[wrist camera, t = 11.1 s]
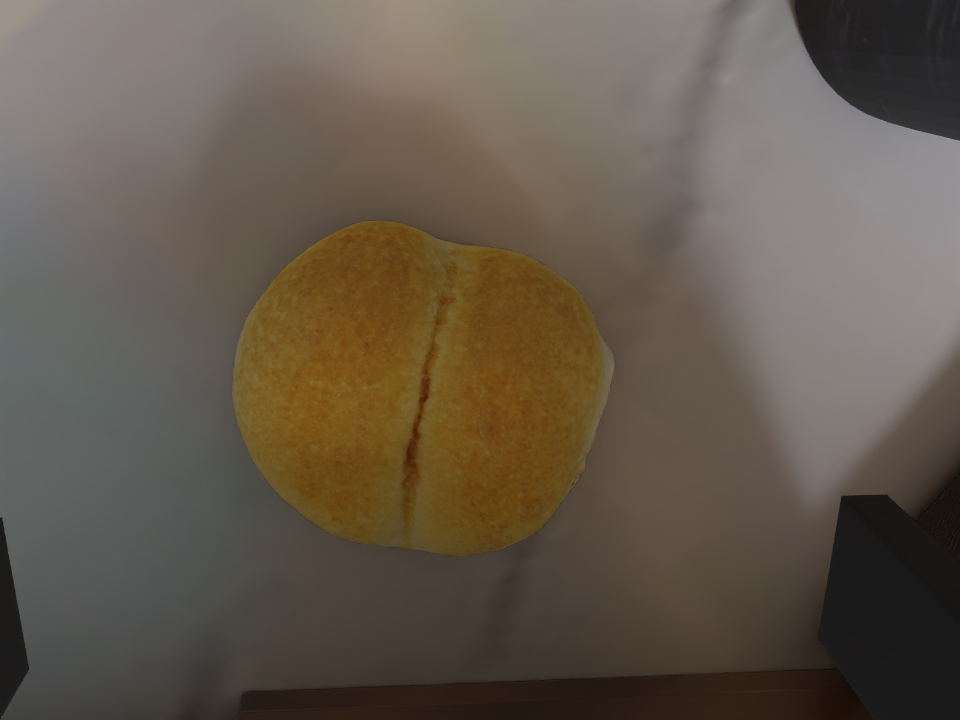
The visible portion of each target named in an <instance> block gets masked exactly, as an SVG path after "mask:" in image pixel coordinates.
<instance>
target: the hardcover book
mask: <svg viewBox="0 0 960 720" xmlns="http://www.w3.org/2000/svg"><path fill="white" fill-rule="evenodd" d="M916 523H917V524H918V525H919V526H920V527H921V528H922V529H923V530H924V531H925V532H927V533H928V534H929V535H930V536H931V537H932V538H933V539H934V540H935V541H936V542H937V543H938V544H939V545H940V546H941V547H942V548H943V549H944V550H945V551H947V552H948V553H949V554H950V555H951V556H952V557H953V558H954V559H955V560H956V561H957V562H958V563H959V564H960V474H959V475H958V476H957V477H956V479H955V480H954V481H953V482H952V483H951V484H950V485H949V486H948V487H947V489H946V490H945V491H944V492H943V493H942V494H941V495H940V496H939V498H938V499H937V500H936V501H935V502H934V503H933V504H932V505H931V506H930V508H929V509H928V510H927V511H926V512H925V513H924V514H923V515H922V516H921V518H920V519H919V520H918V521H917V522H916Z"/></svg>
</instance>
